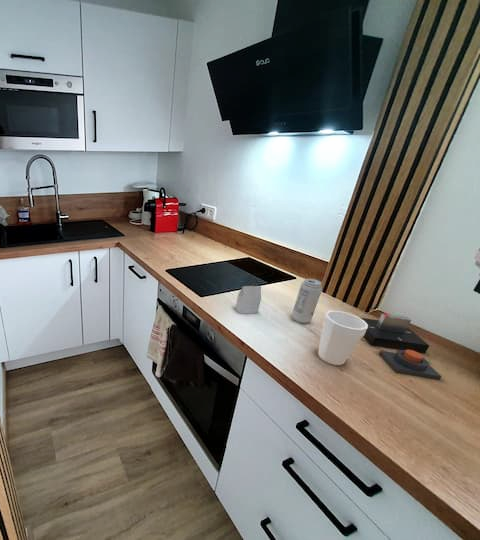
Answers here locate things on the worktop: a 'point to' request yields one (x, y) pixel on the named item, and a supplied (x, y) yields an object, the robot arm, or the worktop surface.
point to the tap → (393, 323)
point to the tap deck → (394, 338)
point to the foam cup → (340, 336)
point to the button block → (409, 365)
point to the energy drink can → (307, 300)
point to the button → (413, 356)
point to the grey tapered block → (249, 299)
